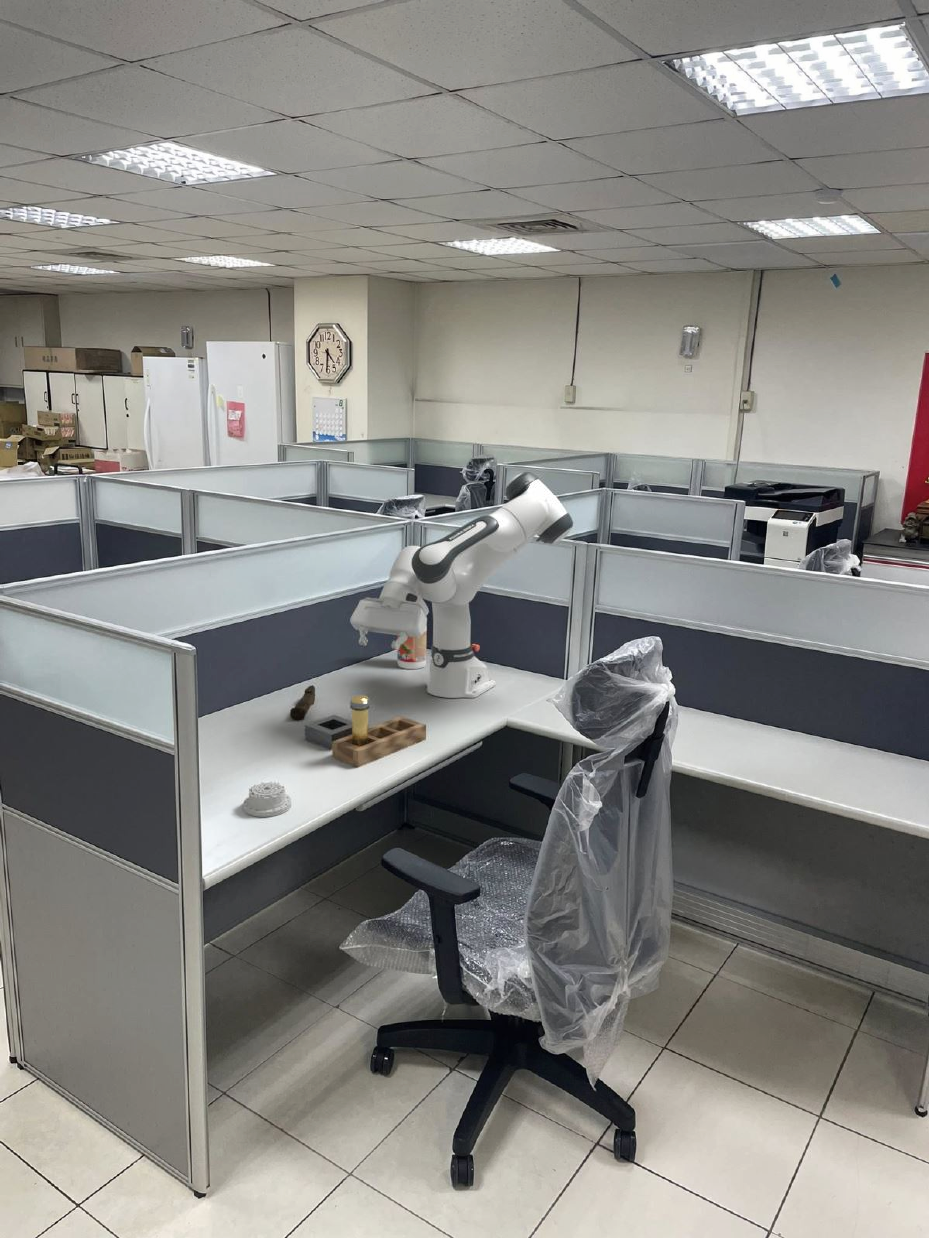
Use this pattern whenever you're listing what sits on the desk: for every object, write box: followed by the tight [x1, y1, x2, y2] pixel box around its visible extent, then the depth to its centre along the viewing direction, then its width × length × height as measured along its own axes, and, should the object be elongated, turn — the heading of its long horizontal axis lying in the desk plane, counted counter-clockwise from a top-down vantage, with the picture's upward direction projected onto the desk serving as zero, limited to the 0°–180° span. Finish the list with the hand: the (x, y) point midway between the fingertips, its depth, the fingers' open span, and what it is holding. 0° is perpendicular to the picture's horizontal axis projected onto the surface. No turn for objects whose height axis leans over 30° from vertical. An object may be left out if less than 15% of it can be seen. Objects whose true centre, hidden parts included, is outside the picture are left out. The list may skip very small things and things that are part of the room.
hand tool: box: [289, 685, 316, 722], centre depth 248 cm, size 19×4×5 cm, turn 174°
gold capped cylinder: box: [349, 694, 371, 747], centre depth 215 cm, size 5×5×15 cm
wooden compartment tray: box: [331, 716, 427, 768], centre depth 221 cm, size 24×9×4 cm, turn 141°
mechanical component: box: [242, 781, 292, 818], centre depth 189 cm, size 10×4×10 cm
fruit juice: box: [396, 624, 428, 670], centre depth 287 cm, size 9×9×28 cm
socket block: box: [304, 714, 352, 750], centre depth 226 cm, size 10×10×4 cm
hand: (378, 646), depth 225 cm, fingers open, 8 cm apart
